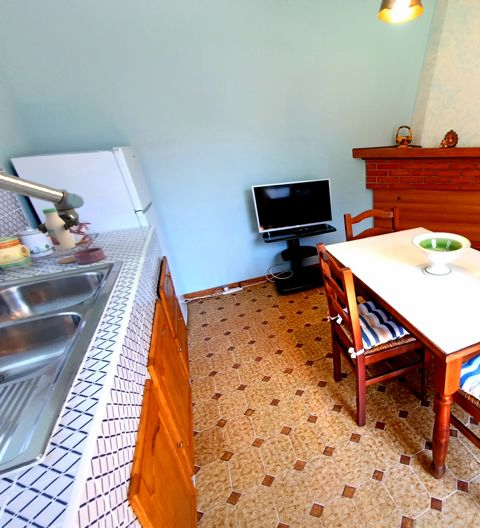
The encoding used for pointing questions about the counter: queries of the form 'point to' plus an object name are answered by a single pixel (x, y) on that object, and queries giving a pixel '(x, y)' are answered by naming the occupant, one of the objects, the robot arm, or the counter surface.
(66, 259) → the coaster
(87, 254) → the bowl
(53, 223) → the milk bottle
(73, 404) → the counter surface
